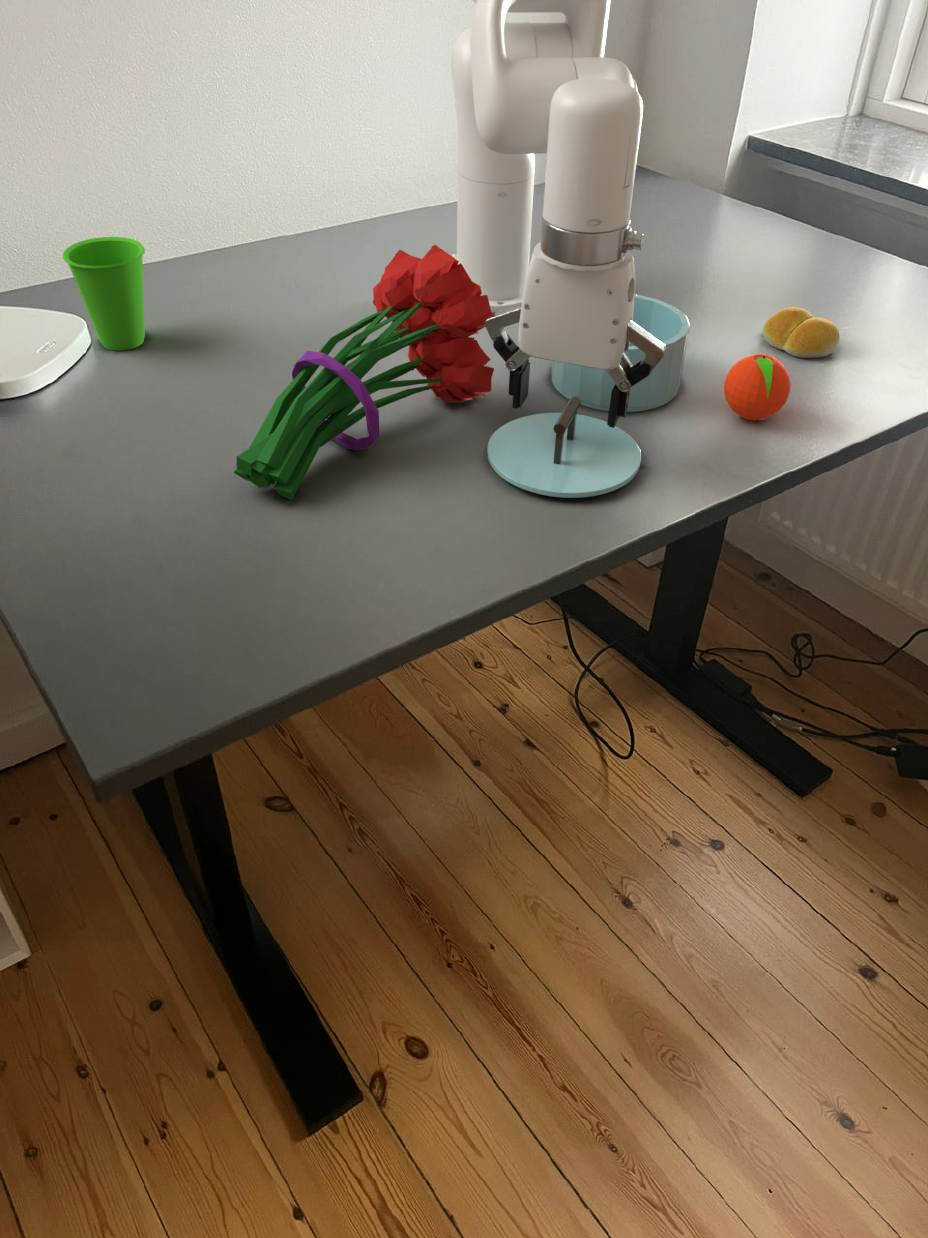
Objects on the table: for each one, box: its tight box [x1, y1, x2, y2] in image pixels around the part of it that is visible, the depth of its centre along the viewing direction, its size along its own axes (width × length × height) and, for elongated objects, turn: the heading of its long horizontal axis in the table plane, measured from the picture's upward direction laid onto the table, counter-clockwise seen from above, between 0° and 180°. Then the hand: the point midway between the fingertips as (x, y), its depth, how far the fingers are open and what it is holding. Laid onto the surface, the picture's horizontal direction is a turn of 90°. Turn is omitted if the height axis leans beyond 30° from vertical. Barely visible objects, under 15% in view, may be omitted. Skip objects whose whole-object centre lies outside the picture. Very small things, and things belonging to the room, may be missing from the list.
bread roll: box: [762, 306, 840, 359], centre depth 124 cm, size 8×9×4 cm
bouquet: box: [233, 243, 495, 501], centre depth 101 cm, size 20×16×30 cm
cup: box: [62, 236, 146, 351], centre depth 119 cm, size 9×9×11 cm
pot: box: [550, 293, 691, 413], centre depth 114 cm, size 15×15×8 cm
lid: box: [486, 396, 642, 499], centre depth 102 cm, size 16×16×6 cm
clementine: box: [723, 353, 792, 421], centre depth 108 cm, size 8×7×7 cm
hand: (566, 411), depth 100 cm, fingers open, 9 cm apart
